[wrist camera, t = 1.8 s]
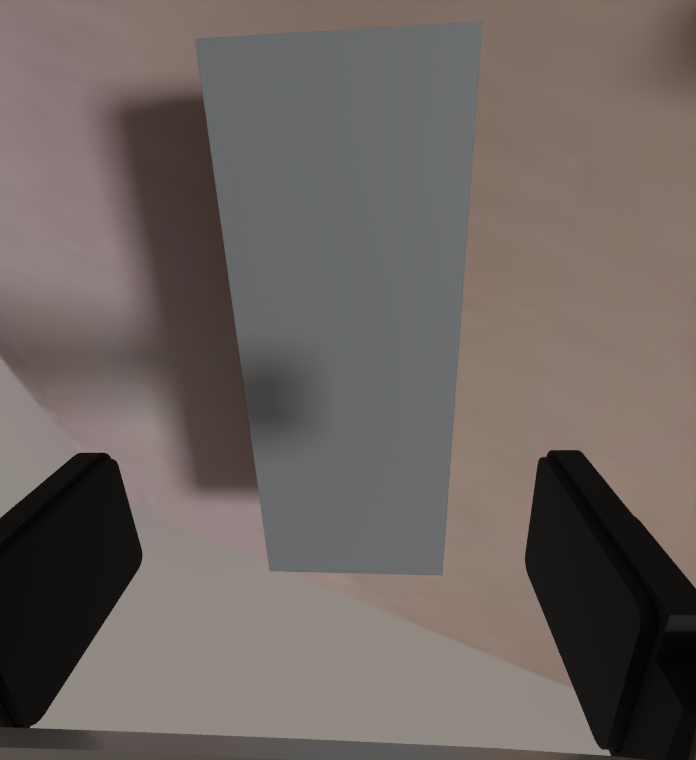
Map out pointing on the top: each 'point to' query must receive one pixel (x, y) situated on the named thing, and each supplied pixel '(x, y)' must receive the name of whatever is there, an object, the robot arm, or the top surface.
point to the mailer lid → (347, 279)
